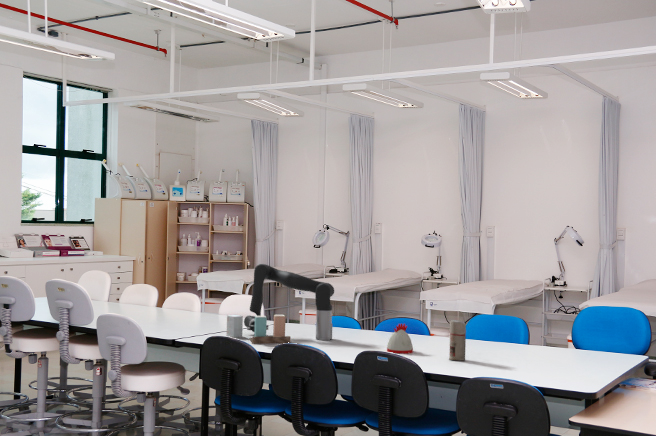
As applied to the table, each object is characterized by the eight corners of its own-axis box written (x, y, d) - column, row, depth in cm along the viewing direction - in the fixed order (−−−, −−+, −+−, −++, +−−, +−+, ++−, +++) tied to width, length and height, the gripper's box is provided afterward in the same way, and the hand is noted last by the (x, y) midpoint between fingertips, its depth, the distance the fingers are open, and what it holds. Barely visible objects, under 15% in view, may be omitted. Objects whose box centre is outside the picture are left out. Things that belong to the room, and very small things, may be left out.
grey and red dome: (418, 352, 350) (418, 324, 351) (397, 354, 344) (397, 325, 344) (402, 348, 362) (403, 321, 363) (382, 350, 356) (382, 322, 356)
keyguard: (285, 340, 380) (285, 332, 380) (290, 344, 366) (290, 336, 366) (249, 341, 375) (249, 333, 375) (252, 345, 361) (252, 336, 361)
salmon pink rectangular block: (283, 339, 377) (284, 314, 378) (284, 341, 372) (285, 315, 373) (273, 339, 376) (273, 314, 376) (274, 341, 371) (275, 315, 372)
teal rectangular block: (264, 341, 370) (265, 315, 370) (265, 342, 365) (266, 316, 366) (254, 341, 369) (254, 315, 369) (255, 342, 364) (255, 316, 364)
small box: (242, 338, 385) (243, 316, 386) (233, 339, 381) (233, 316, 382) (235, 336, 391) (235, 314, 392) (226, 337, 387) (226, 315, 388)
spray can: (447, 358, 336) (447, 319, 336) (462, 358, 336) (463, 319, 337) (451, 361, 327) (452, 321, 328) (467, 361, 328) (468, 321, 328)
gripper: (245, 319, 385) (248, 323, 368) (267, 319, 388) (271, 322, 371) (244, 332, 385) (247, 336, 368) (267, 331, 388) (271, 336, 371)
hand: (259, 329), depth 369 cm, fingers closed
